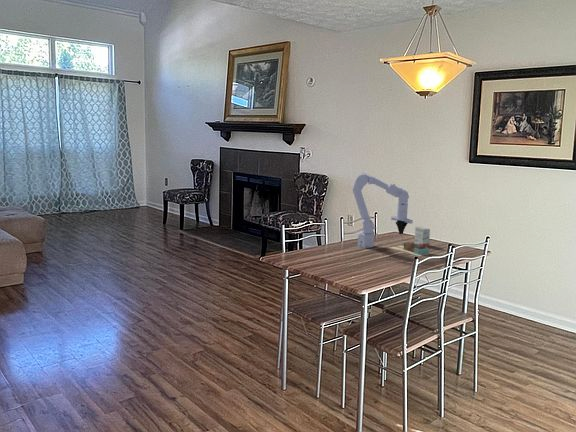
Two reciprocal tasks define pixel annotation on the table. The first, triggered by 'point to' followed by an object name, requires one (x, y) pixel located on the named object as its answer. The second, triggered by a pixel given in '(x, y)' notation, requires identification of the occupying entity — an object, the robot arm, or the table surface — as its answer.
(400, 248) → the board
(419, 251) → the end cap
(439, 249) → the table surface
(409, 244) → the brown rectangular block
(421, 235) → the ink box
